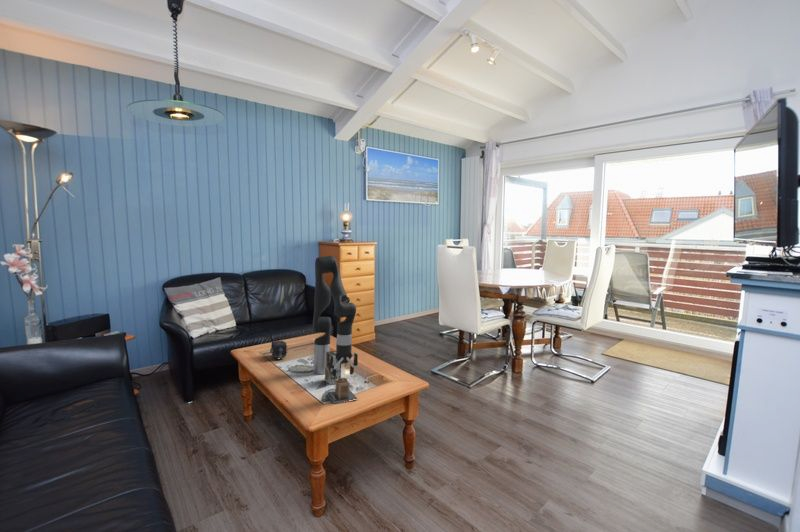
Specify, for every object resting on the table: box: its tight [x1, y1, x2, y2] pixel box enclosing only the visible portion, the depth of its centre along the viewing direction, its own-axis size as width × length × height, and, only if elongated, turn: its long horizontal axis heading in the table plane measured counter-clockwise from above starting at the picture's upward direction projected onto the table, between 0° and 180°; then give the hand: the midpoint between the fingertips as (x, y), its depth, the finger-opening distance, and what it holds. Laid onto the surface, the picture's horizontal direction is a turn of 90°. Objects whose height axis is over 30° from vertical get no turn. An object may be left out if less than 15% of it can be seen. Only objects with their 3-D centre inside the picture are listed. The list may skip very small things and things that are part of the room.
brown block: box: [334, 376, 350, 399], centre depth 181 cm, size 7×5×8 cm
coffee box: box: [324, 350, 342, 386], centre depth 203 cm, size 9×6×16 cm
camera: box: [269, 340, 288, 359], centre depth 244 cm, size 11×11×15 cm
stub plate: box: [326, 389, 358, 405], centre depth 181 cm, size 12×12×7 cm
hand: (342, 375), depth 181 cm, fingers open, 8 cm apart
